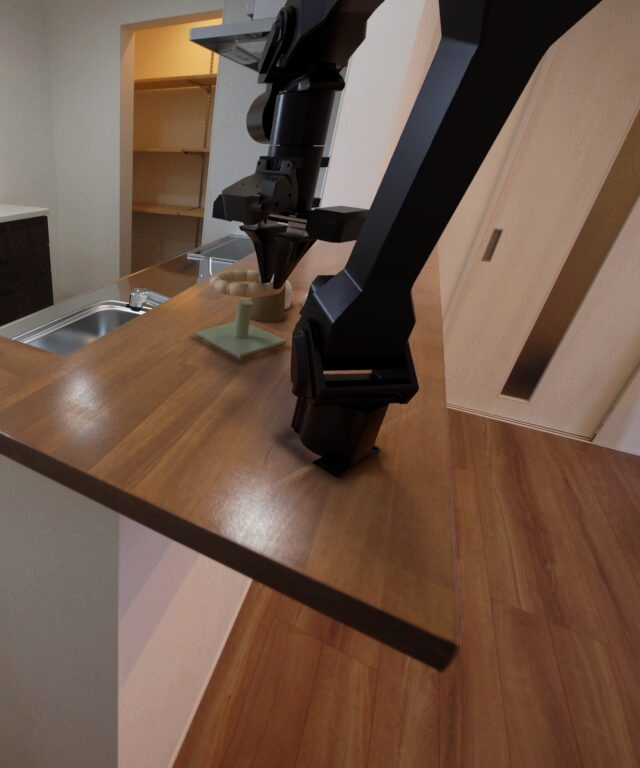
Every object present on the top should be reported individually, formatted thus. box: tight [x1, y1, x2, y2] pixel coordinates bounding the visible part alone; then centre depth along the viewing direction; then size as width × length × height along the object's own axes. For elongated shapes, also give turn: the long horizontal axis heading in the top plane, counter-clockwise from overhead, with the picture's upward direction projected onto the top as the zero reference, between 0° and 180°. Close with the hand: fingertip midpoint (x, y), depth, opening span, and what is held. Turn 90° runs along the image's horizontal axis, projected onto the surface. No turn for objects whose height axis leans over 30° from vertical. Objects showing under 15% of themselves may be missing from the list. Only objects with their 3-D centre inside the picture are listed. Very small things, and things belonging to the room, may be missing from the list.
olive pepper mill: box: [250, 282, 286, 323], centre depth 69 cm, size 6×6×11 cm
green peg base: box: [195, 299, 287, 359], centre depth 60 cm, size 9×9×6 cm
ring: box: [209, 269, 286, 298], centre depth 57 cm, size 10×10×2 cm
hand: (271, 287), depth 54 cm, fingers closed on ring, 1 cm apart
